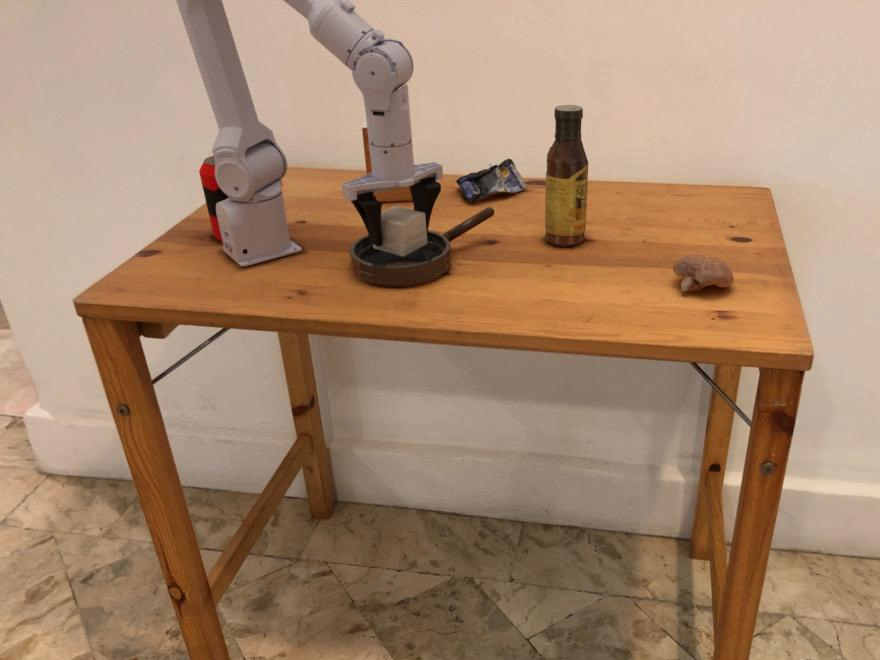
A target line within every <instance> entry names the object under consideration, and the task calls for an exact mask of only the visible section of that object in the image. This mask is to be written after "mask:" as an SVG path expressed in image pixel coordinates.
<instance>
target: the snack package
mask: <svg viewBox="0 0 880 660" xmlns="http://www.w3.org/2000/svg"><path fill="white" fill-rule="evenodd" d="M488 166H489V167H488V168H484V169H481V170H478V171H477V172H468V174H466V175H464V176H461V177H458V178H457V179H456V182H455V183H456V184H457V185H458V186H459V190H460V191H461V194H462V196H463V199H464V200H465V201H468V202H469V203H470V204H474V203H476V202H477V201H481V200H484V199H487V198H489V197H492V196H493V195H496V194H512V193H513V194H515V193H518V192H520V191H524V189H526V188H527V182H526V183H525V181H524V180H523V177H522V175H521V173H520V171H518V169H517V166H516V164H515V162H514V161H513V159H511V158H507V159H504V160H503V161H502V162H501V163H499V164H498V163H495V164H494V165H492V163H490V164H489V165H488Z"/></svg>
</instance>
